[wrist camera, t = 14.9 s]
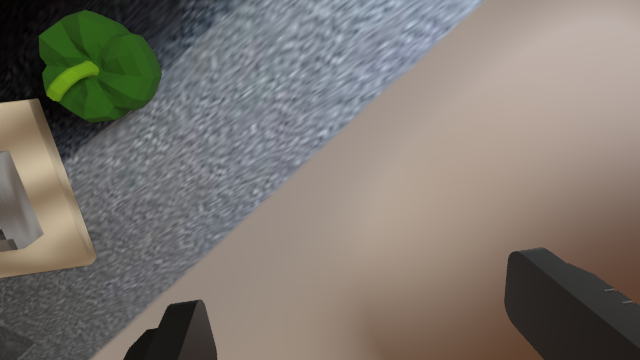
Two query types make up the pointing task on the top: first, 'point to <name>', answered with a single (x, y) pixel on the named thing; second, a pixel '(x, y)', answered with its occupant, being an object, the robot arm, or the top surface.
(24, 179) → the collar board
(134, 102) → the bell pepper
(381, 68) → the top surface
